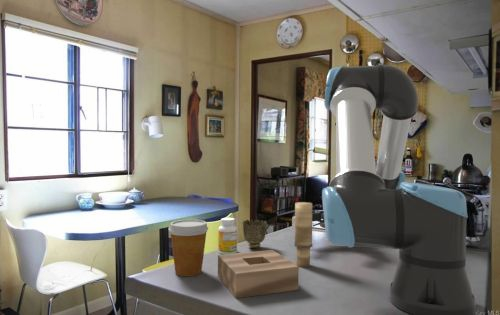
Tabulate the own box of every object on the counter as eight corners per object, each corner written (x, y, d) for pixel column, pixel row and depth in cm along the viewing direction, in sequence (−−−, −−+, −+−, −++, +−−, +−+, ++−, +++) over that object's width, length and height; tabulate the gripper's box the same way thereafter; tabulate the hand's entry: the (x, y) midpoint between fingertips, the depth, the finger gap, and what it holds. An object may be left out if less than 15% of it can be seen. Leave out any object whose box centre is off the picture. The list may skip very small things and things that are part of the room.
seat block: (298, 289, 81) (298, 266, 81) (235, 298, 76) (235, 273, 76) (272, 269, 94) (272, 249, 94) (217, 276, 90) (217, 254, 89)
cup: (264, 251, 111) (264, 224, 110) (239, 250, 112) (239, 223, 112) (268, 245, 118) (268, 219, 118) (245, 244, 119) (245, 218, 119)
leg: (315, 266, 97) (316, 204, 96) (299, 268, 95) (299, 205, 95) (306, 261, 101) (307, 201, 101) (291, 263, 100) (291, 202, 99)
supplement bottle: (219, 249, 113) (219, 216, 113) (237, 249, 113) (237, 217, 112) (217, 254, 108) (217, 220, 107) (236, 254, 107) (236, 220, 107)
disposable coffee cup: (204, 264, 98) (204, 218, 98) (211, 276, 89) (211, 225, 89) (166, 268, 95) (166, 220, 95) (170, 280, 86) (170, 228, 86)
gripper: (378, 229, 118) (360, 243, 100) (303, 220, 131) (275, 232, 112) (378, 205, 118) (361, 215, 100) (303, 199, 130) (275, 207, 112)
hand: (315, 224), depth 106 cm, fingers open, 13 cm apart
